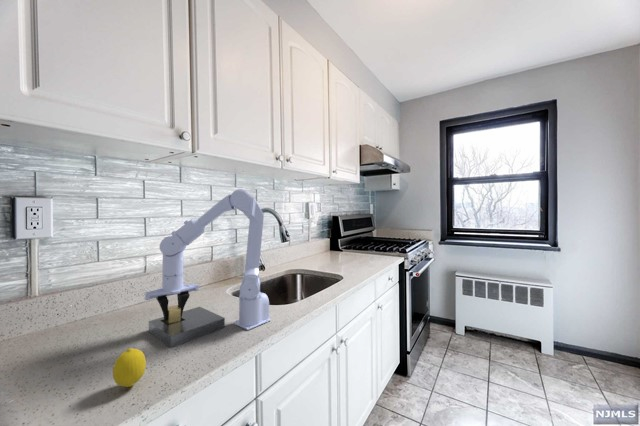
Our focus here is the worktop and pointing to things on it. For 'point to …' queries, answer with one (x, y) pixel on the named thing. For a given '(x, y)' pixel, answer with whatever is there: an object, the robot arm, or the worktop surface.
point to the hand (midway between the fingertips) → (172, 317)
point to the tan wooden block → (173, 315)
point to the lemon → (129, 367)
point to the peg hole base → (186, 326)
